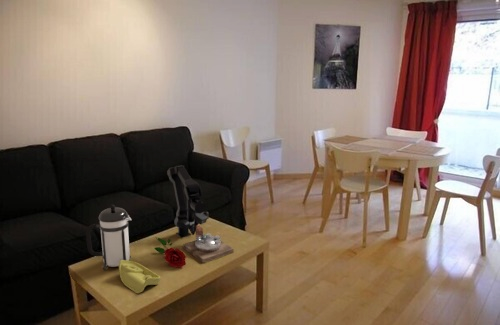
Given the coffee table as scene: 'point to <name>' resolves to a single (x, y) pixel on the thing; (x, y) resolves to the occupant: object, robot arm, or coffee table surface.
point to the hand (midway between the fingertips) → (193, 234)
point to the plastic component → (136, 276)
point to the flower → (172, 254)
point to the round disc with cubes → (206, 241)
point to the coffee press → (112, 236)
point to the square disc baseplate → (208, 255)
